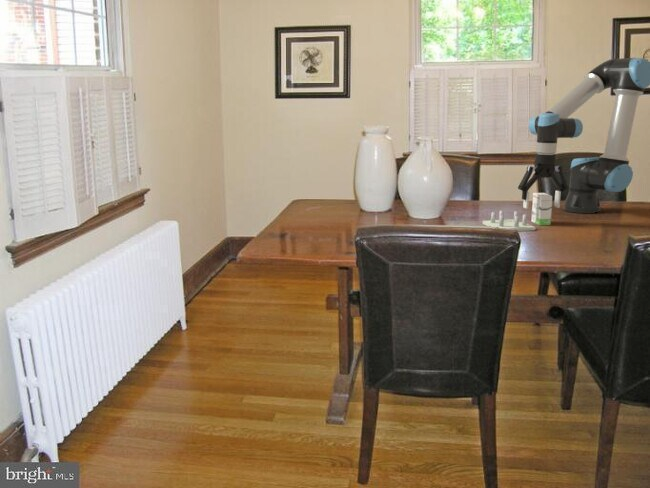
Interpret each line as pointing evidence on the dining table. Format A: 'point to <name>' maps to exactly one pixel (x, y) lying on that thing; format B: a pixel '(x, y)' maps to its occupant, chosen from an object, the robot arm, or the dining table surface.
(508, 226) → the pin tray
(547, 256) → the dining table surface
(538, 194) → the ink box
